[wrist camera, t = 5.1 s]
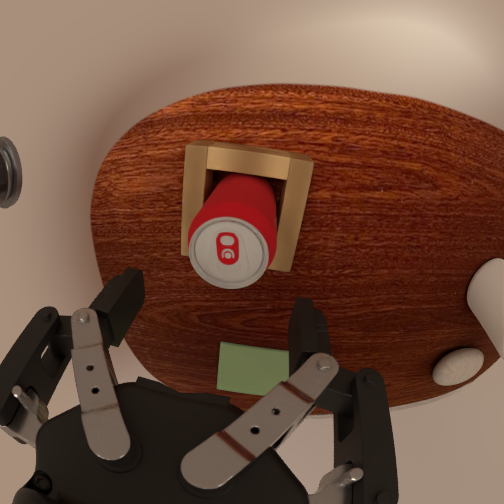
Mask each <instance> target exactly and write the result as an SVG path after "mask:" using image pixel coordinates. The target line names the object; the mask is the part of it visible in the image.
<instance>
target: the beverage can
mask: <svg viewBox="0 0 504 504" xmlns="http://www.w3.org/2000/svg"><path fill="white" fill-rule="evenodd" d="M187 241H188V249H189V257H190V261H191V264H192V266H193V268H194V269H195V271H196V272H197V273H198V275H199V276H200V277H202V278H203V279H204V280H205V281H207V282H208V283H210V284H212V285H215V286H217V287H221V288H226V289H237V288H243V287H246V286H249V285H251V284H252V283H254V282H255V281H257V280H258V279H259V278H260V277H261V276H262V275H263V273H264V272H265V271H266V270H267V269H268V267H269V266H270V265H271V263H272V261H273V259H274V257H275V254H276V249H277V226H276V196H275V192H274V189H273V187H272V186H271V184H270V183H269V181H268V180H267V179H266V178H264V177H263V176H258V175H251V174H244V173H237V172H233V173H230V174H228V175H227V176H225V177H224V178H223V179H222V180H221V181H220V182H219V184H218V185H217V187H216V188H215V189H214V191H213V192H212V193H211V195H210V196H209V198H208V199H207V201H206V202H205V203H204V205H203V206H202V208H201V209H200V210H199V212H198V213H197V215H196V216H195V218H194V219H193V221H192V223H191V225H190V228H189V231H188V240H187Z"/></svg>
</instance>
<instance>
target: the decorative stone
mask: <svg viewBox="0 0 504 504" xmlns="http://www.w3.org/2000/svg"><path fill="white" fill-rule="evenodd" d="M483 360H484V357H483V354H482V352H481V351H479V350H478V349H474V348H463V349H459V350H455V351H453V352H451V353H449V354H447V355H446V356H444V357H443V358H442V359H441V360H440V361H439V362H438V363H437V364H436V366H435V368H434V370H433V379H434V381H435V382H436V383H437V384H439V385H454V384H458V383H461V382H463V381H466V380H468V379H469V378H471V377H472V376H474V375H475V374H476V373H477V372H478V371H479V370H480V368H481V366H482V364H483Z"/></svg>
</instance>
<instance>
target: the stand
mask: <svg viewBox="0 0 504 504" xmlns="http://www.w3.org/2000/svg"><path fill="white" fill-rule="evenodd" d="M313 167H314V162H313V160H312V159H311V158H310V157H309V155H305V154H300V153H294V152H288V151H283V150H277V149H271V148H264V147H257V146H250V145H243V144H234V143H226V142H216V141H206V140H197V141H194V142H192V143H189V144H187V145H186V150H185V164H184V180H183V200H182V232H181V255H185V256H189V249H188V241H187V240H188V231H189V228H190V225H191V223H192V221H193V219H194V218H195V216H196V215H197V213H198V212H199V210H200V209H201V208H202V206H203V205H204V203H205V202H206V201H207V199H208V198H209V196H210V195H211V193H212V188H213V178H214V170H221V171H229V172H237V173H244V174H251V175H258V176H264V177H271V178H277V179H283V180H284V181H283V187H282V192H281V198H280V204H279V209H278V214H277V220H276V226H277V249H276V254H275V257H274V259H273V261H272V263H271V265H270V266H269V267H268V269H272V270H279V271H285V272H290V270H291V266H292V261H293V257H294V253H295V249H296V245H297V240H298V236H299V232H300V227H301V223H302V218H303V214H304V209H305V205H306V200H307V196H308V191H309V186H310V181H311V176H312V171H313Z"/></svg>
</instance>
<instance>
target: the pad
mask: <svg viewBox="0 0 504 504" xmlns="http://www.w3.org/2000/svg"><path fill="white" fill-rule="evenodd" d="M288 379H289V351H286V350H277V349H269V348H261V347H254V346H247V345H241V344H234V343H228V342H222V341H221V343H220V354H219V367H218V379H217V389H221V390H227V391H234V392H240V393H248V394H255V395H264V396H265V395H266V394H267V393H268V392H269V391H270V390H271V389H272V388H274V387H275V386H276V385H277V384H278V383H279V382H281V381H284V382H285V381H287V380H288Z"/></svg>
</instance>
